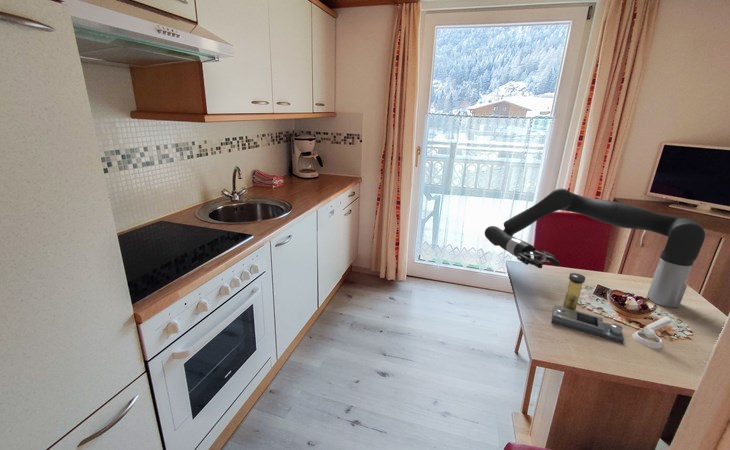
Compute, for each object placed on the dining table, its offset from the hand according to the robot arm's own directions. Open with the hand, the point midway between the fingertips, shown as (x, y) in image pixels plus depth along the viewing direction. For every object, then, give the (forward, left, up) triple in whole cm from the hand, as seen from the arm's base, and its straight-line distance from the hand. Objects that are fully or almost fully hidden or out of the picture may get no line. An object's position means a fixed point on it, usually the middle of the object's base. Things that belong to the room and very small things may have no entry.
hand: (550, 265), depth 128 cm
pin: (-9, +7, -13) cm, 17 cm away
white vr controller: (-31, +13, -13) cm, 36 cm away
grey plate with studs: (-14, +16, -13) cm, 25 cm away
